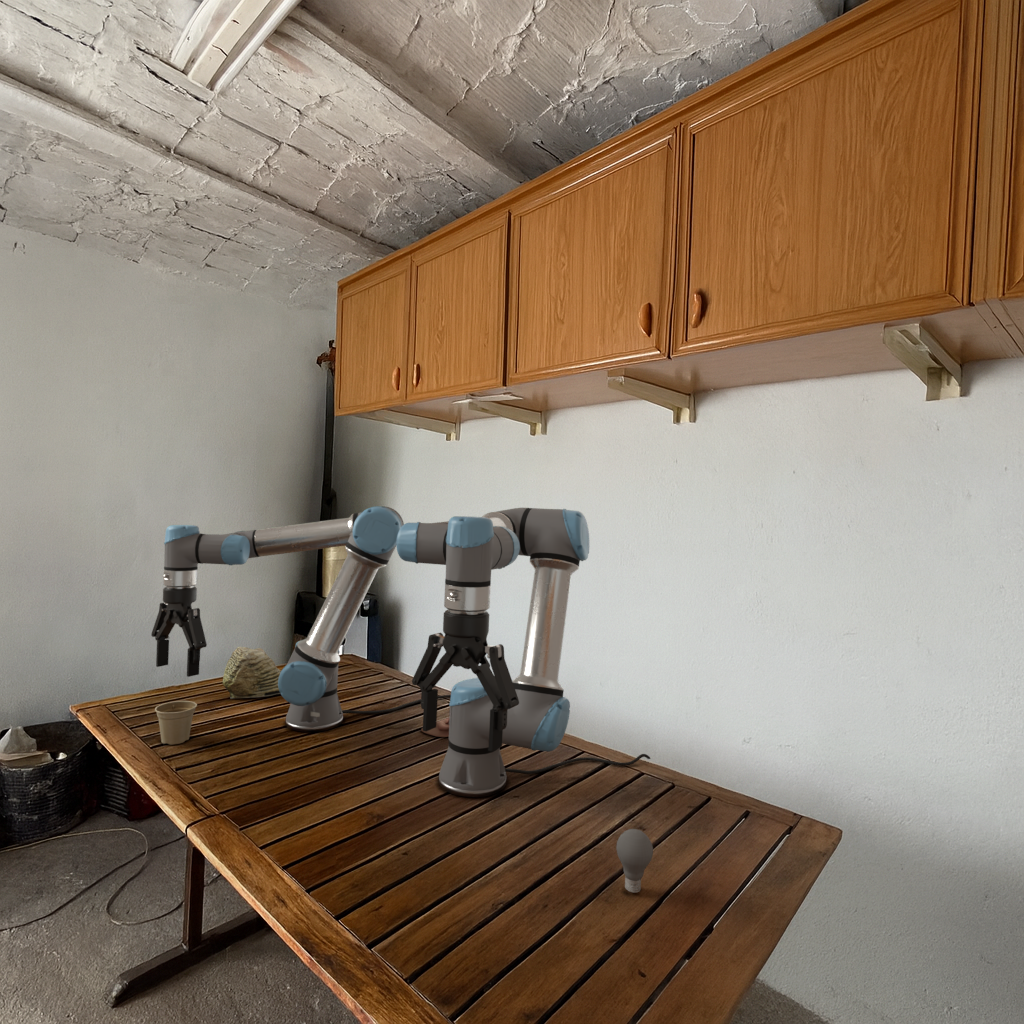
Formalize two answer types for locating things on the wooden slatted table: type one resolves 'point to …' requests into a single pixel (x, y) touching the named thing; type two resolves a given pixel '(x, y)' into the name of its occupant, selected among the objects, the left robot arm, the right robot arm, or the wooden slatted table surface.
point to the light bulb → (634, 857)
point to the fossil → (251, 674)
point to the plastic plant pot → (175, 721)
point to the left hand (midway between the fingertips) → (177, 670)
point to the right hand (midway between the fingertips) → (461, 738)
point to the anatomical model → (440, 729)
